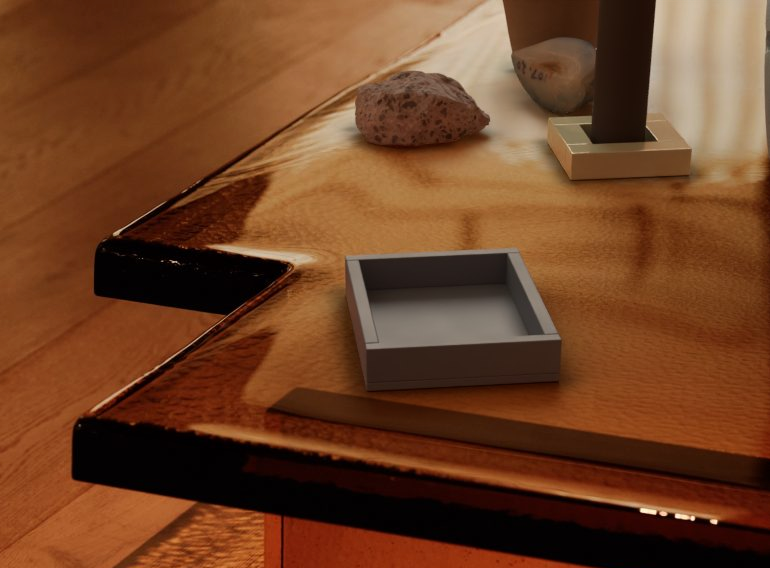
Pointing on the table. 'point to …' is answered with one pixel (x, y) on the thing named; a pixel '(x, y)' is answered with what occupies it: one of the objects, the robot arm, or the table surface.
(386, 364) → the grey tray
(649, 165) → the beige square tray
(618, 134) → the dark brown tall cylinder
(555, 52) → the seashell
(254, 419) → the table surface
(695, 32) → the table surface
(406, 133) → the rock
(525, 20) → the flower pot
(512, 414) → the table surface
